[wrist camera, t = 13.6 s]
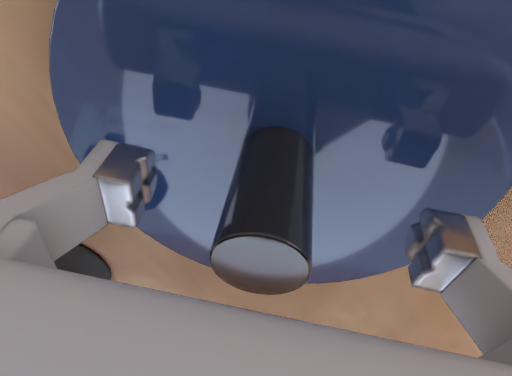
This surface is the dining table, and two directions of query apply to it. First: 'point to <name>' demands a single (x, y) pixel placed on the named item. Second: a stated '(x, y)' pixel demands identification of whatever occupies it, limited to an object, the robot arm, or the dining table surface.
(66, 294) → the robot arm
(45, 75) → the dining table surface
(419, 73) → the lid
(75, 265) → the sundae
